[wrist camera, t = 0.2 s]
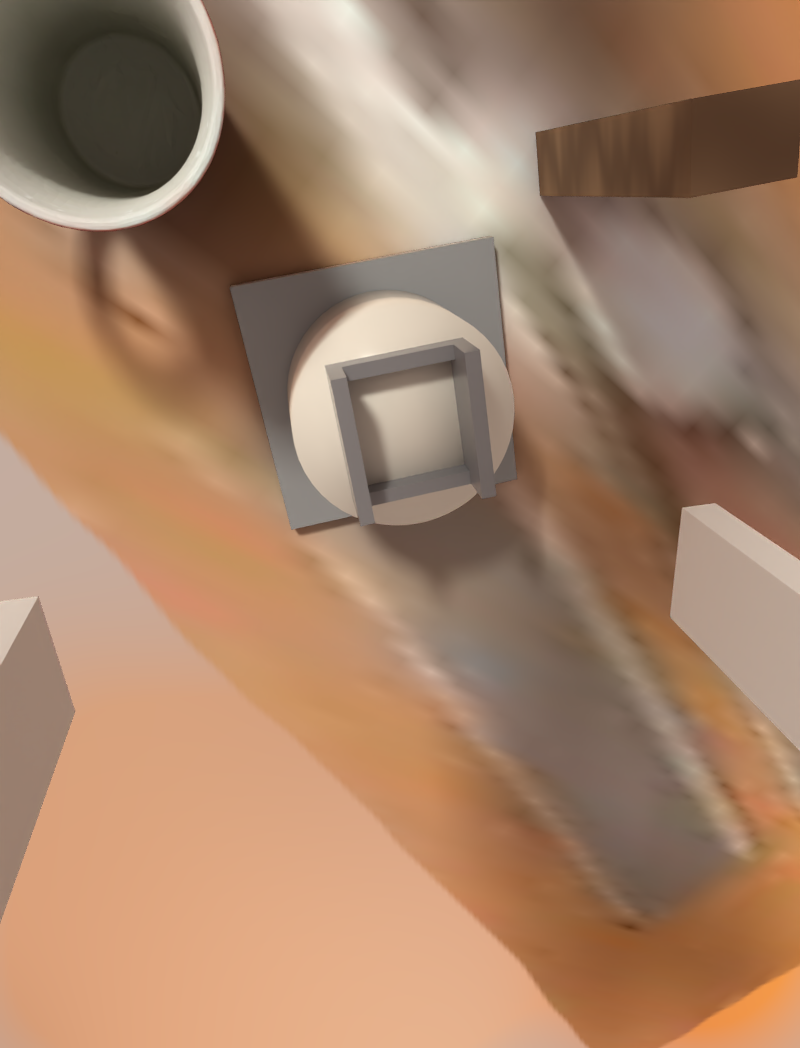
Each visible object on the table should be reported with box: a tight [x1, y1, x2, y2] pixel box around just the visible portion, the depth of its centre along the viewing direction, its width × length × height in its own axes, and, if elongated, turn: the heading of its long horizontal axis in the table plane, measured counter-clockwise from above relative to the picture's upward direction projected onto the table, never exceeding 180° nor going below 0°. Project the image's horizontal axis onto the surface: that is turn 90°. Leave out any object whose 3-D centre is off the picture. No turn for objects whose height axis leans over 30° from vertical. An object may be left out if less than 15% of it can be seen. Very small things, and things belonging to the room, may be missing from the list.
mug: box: [0, 0, 225, 231], centre depth 28 cm, size 13×9×14 cm
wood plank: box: [536, 80, 800, 198], centre depth 31 cm, size 3×4×15 cm
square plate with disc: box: [230, 236, 517, 530], centre depth 37 cm, size 14×14×10 cm
